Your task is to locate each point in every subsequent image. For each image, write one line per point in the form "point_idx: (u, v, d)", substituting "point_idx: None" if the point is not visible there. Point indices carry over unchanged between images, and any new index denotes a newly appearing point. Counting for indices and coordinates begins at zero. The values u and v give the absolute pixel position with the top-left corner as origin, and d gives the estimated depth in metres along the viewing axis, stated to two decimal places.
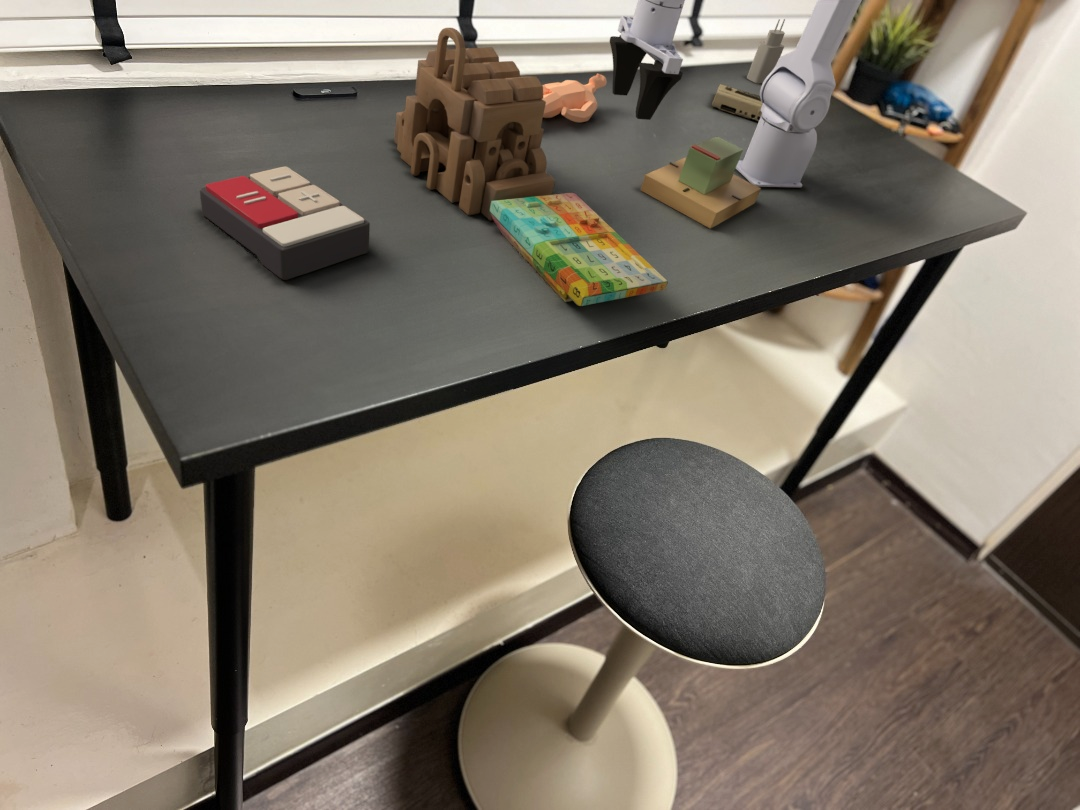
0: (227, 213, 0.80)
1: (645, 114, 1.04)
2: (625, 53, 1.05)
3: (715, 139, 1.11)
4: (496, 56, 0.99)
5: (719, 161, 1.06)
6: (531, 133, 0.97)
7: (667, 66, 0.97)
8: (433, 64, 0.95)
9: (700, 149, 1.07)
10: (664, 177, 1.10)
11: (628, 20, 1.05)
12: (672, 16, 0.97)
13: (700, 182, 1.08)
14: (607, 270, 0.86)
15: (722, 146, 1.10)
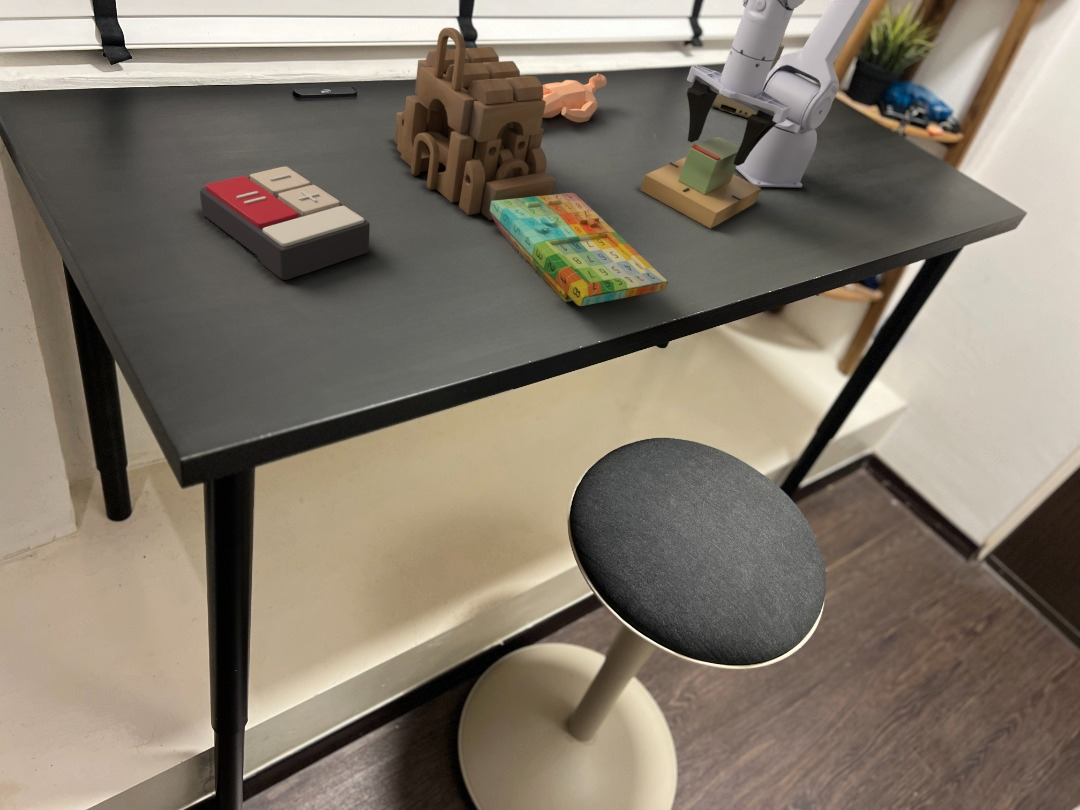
0: (227, 213, 0.80)
1: (743, 160, 1.07)
2: (704, 103, 1.06)
3: (715, 139, 1.11)
4: (496, 56, 0.99)
5: (719, 161, 1.06)
6: (531, 132, 0.97)
7: (781, 118, 1.01)
8: (433, 64, 0.95)
9: (700, 149, 1.07)
10: (664, 177, 1.10)
11: (698, 69, 1.06)
12: (770, 67, 1.00)
13: (700, 182, 1.08)
14: (607, 270, 0.86)
15: (722, 146, 1.10)
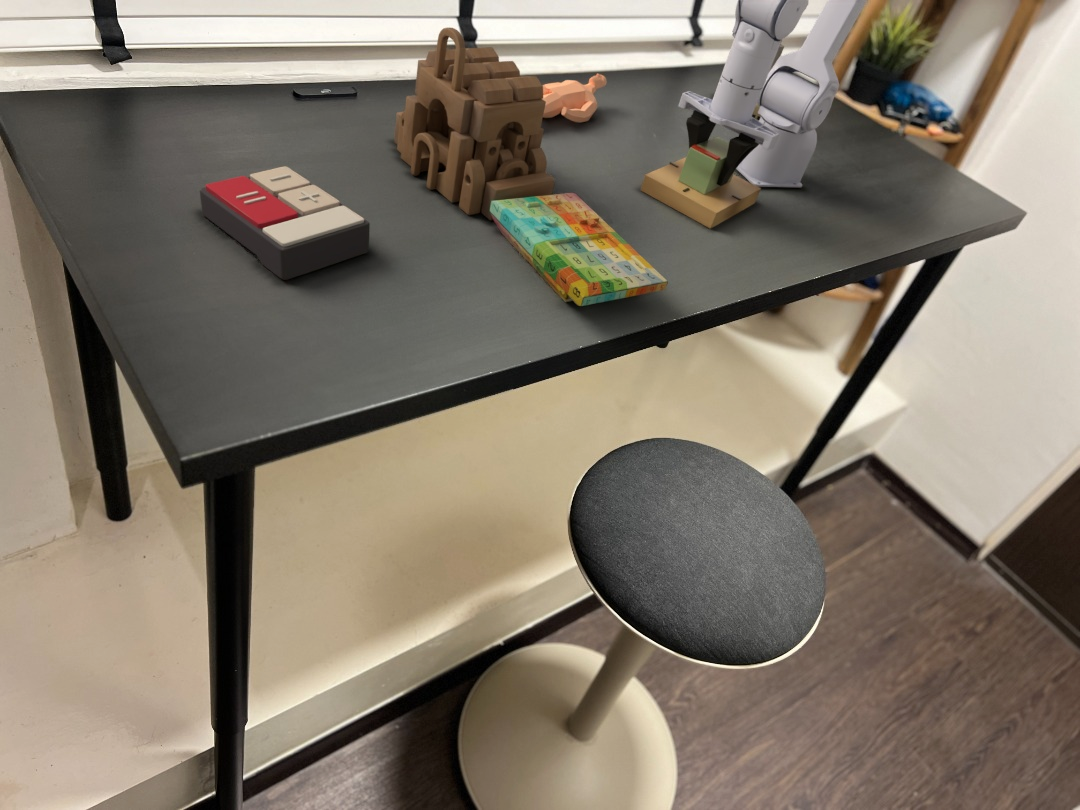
0: (227, 213, 0.80)
1: (725, 180, 1.10)
2: (703, 132, 1.08)
3: (715, 139, 1.11)
4: (496, 56, 0.99)
5: (719, 161, 1.06)
6: (531, 132, 0.97)
7: (769, 144, 1.03)
8: (433, 64, 0.95)
9: (700, 149, 1.07)
10: (664, 177, 1.10)
11: (689, 96, 1.08)
12: (759, 95, 1.03)
13: (700, 182, 1.08)
14: (607, 270, 0.86)
15: (722, 146, 1.10)
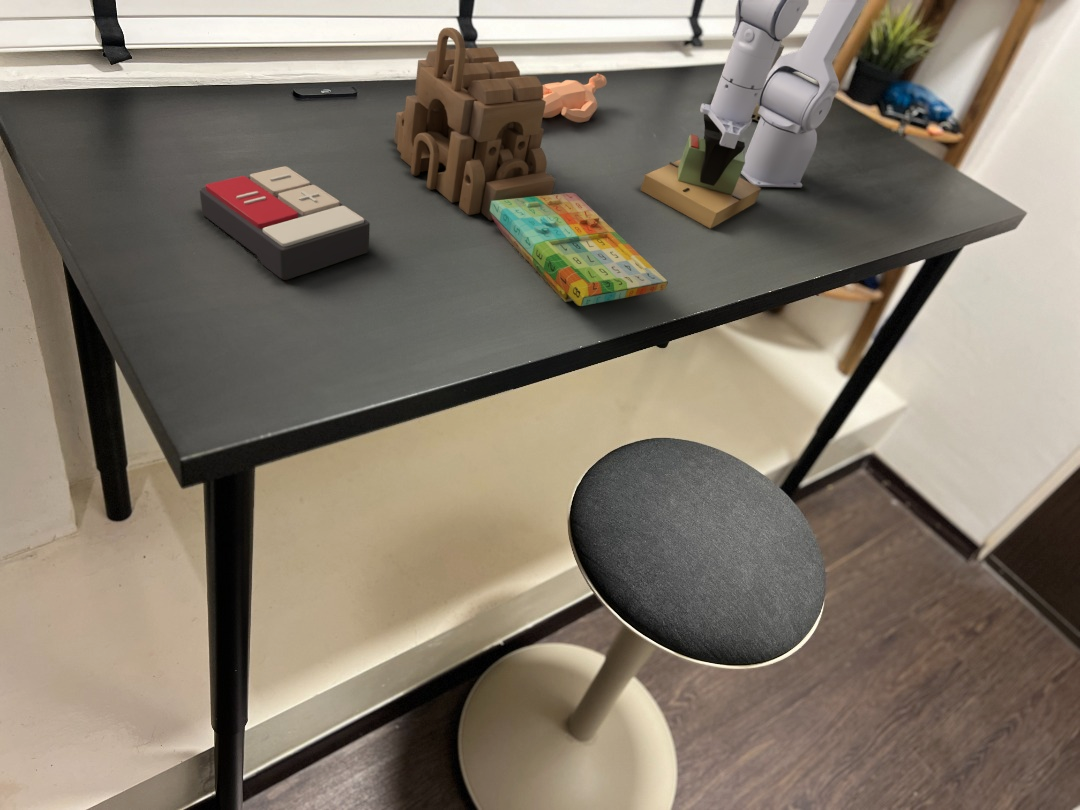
0: (227, 213, 0.80)
1: (708, 179, 1.09)
2: (714, 130, 1.10)
3: None
4: (496, 56, 0.99)
5: (694, 150, 1.07)
6: (531, 132, 0.97)
7: (722, 139, 1.01)
8: (433, 64, 0.95)
9: (693, 138, 1.09)
10: (664, 177, 1.10)
11: None
12: (744, 95, 1.01)
13: (680, 168, 1.10)
14: (607, 270, 0.86)
15: None
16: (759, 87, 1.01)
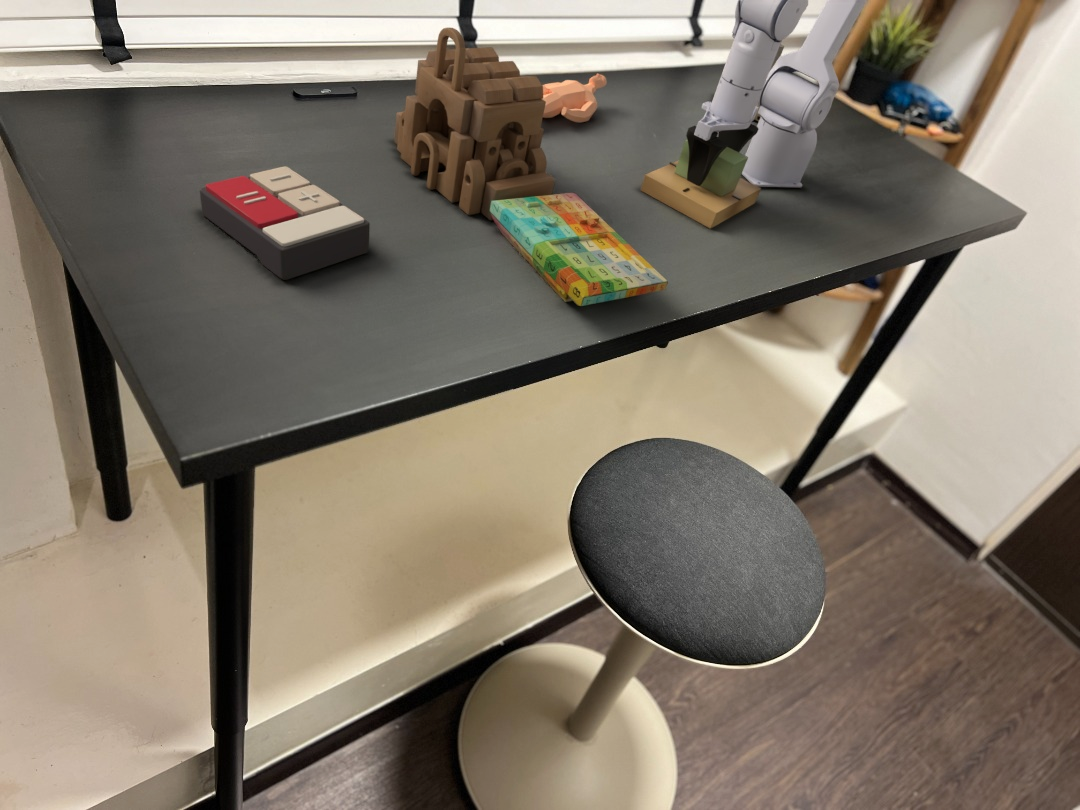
0: (227, 213, 0.80)
1: (693, 178, 1.08)
2: (727, 131, 1.11)
3: (739, 153, 1.09)
4: (496, 56, 0.99)
5: None
6: (531, 132, 0.97)
7: (695, 129, 1.02)
8: (433, 64, 0.95)
9: None
10: (664, 177, 1.10)
11: None
12: (733, 93, 1.01)
13: None
14: (607, 270, 0.86)
15: (724, 152, 1.08)
16: (759, 88, 1.01)
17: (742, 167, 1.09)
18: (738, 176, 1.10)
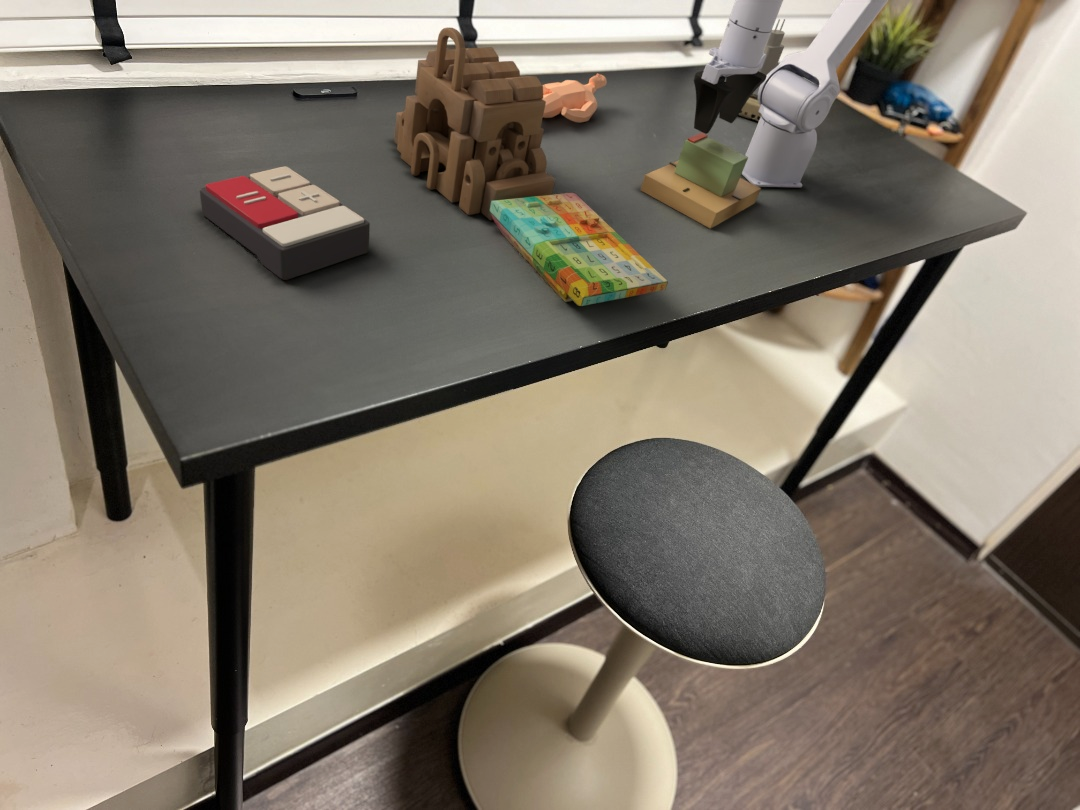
0: (227, 213, 0.80)
1: (700, 126, 1.07)
2: (734, 79, 1.09)
3: (739, 153, 1.09)
4: (496, 56, 0.99)
5: (690, 143, 1.09)
6: (531, 132, 0.97)
7: (703, 72, 1.00)
8: (433, 64, 0.95)
9: (699, 135, 1.11)
10: (664, 177, 1.10)
11: None
12: (741, 35, 1.00)
13: None
14: (607, 270, 0.86)
15: (724, 152, 1.08)
16: (765, 30, 0.99)
17: (742, 167, 1.09)
18: (738, 176, 1.10)
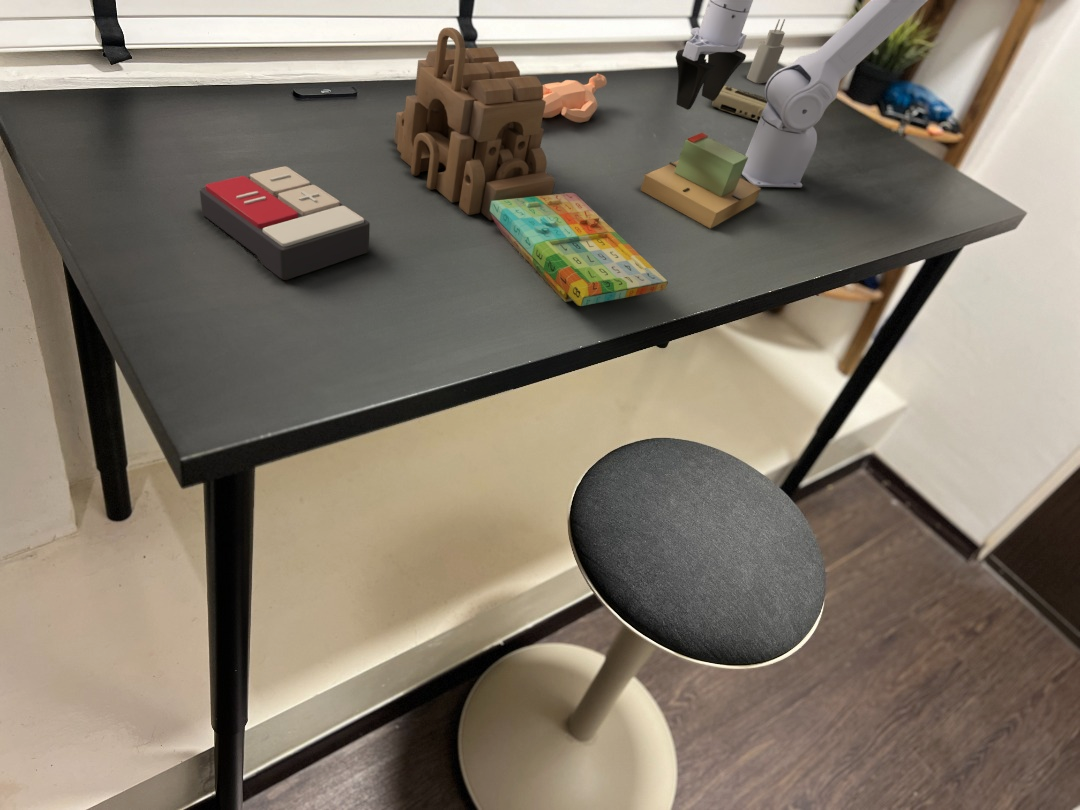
0: (227, 213, 0.80)
1: (682, 102, 1.12)
2: (716, 58, 1.15)
3: (739, 153, 1.09)
4: (496, 56, 0.99)
5: (690, 143, 1.09)
6: (531, 132, 0.97)
7: (684, 49, 1.06)
8: (433, 64, 0.95)
9: (699, 135, 1.11)
10: (664, 177, 1.10)
11: None
12: (720, 15, 1.05)
13: None
14: (607, 270, 0.86)
15: (724, 152, 1.08)
16: (734, 8, 1.04)
17: (742, 167, 1.09)
18: (738, 176, 1.10)
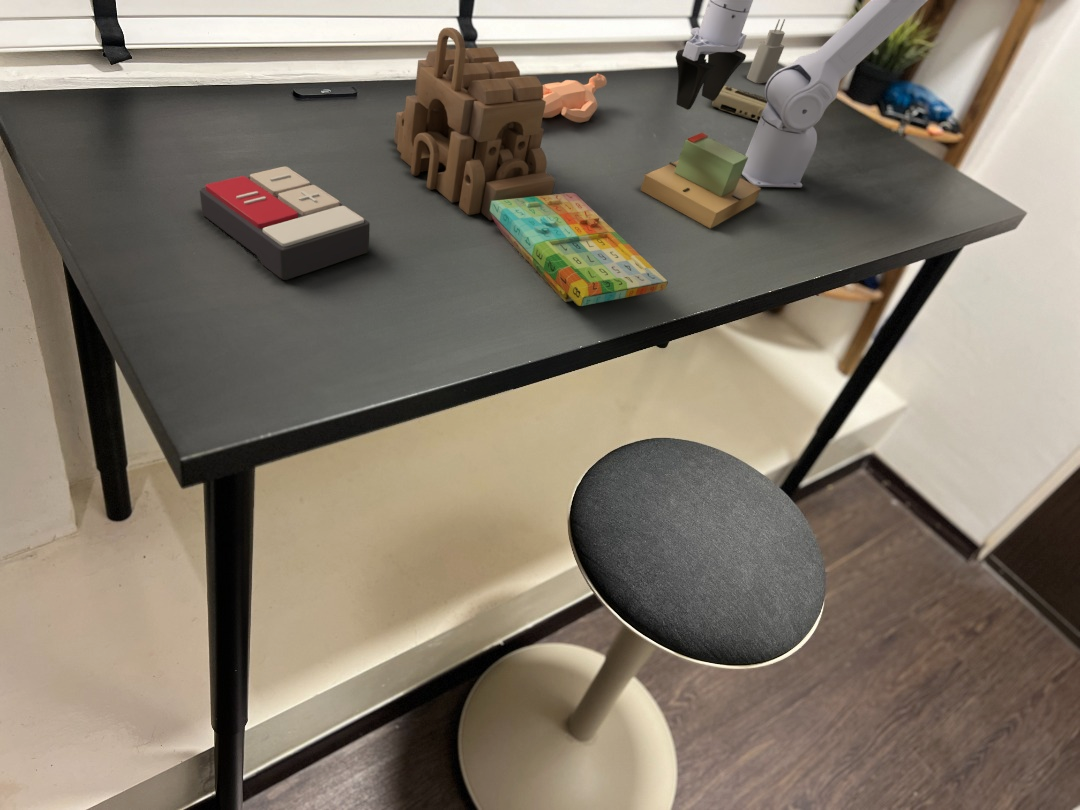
0: (227, 213, 0.80)
1: (682, 102, 1.12)
2: (716, 58, 1.15)
3: (739, 153, 1.09)
4: (496, 56, 0.99)
5: (690, 143, 1.09)
6: (531, 132, 0.97)
7: (684, 49, 1.06)
8: (433, 64, 0.95)
9: (699, 135, 1.11)
10: (664, 177, 1.10)
11: None
12: (720, 15, 1.05)
13: None
14: (607, 270, 0.86)
15: (724, 152, 1.08)
16: (734, 8, 1.04)
17: (742, 167, 1.09)
18: (738, 176, 1.10)
